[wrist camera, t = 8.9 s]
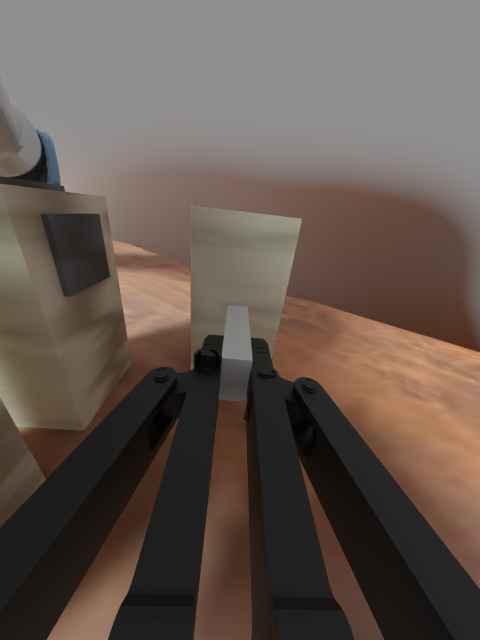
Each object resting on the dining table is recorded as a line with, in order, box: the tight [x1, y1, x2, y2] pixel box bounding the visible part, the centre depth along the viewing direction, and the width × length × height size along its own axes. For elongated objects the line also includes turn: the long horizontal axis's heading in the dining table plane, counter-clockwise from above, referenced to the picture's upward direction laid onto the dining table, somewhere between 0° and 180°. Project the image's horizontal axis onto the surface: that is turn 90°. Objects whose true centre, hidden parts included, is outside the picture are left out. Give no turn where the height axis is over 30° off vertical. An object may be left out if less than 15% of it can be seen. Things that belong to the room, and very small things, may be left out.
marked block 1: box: [0, 176, 131, 431], centre depth 14 cm, size 7×7×14 cm
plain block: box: [191, 206, 302, 370], centre depth 19 cm, size 7×7×14 cm
